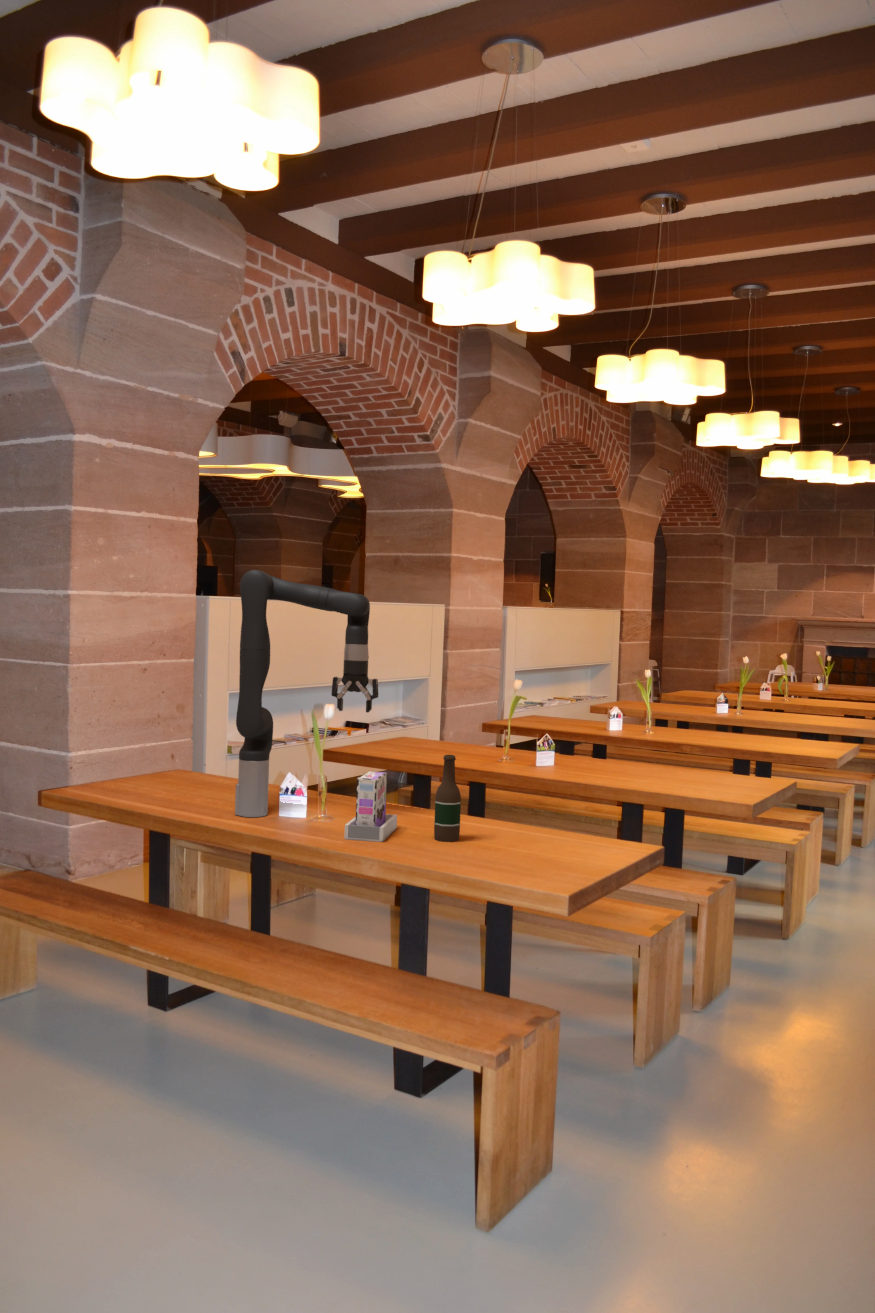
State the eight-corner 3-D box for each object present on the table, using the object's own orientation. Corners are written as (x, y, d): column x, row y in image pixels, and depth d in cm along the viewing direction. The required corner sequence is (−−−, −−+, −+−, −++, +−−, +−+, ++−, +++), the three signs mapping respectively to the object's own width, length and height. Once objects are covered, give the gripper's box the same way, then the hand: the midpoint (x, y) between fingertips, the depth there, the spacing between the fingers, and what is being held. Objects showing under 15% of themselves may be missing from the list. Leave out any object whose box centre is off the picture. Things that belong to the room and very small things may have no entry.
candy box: (374, 837, 279) (376, 779, 278) (354, 835, 280) (356, 777, 279) (385, 827, 292) (387, 771, 291) (366, 825, 293) (368, 770, 292)
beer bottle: (428, 837, 284) (431, 753, 283) (453, 835, 287) (456, 753, 286) (439, 843, 277) (442, 757, 276) (464, 841, 280) (467, 757, 279)
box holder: (344, 839, 277) (344, 825, 277) (360, 825, 296) (361, 812, 296) (382, 842, 275) (383, 827, 275) (396, 828, 294) (397, 814, 294)
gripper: (330, 658, 302) (328, 711, 302) (375, 660, 300) (374, 713, 300) (336, 657, 309) (335, 709, 310) (381, 659, 307) (379, 711, 308)
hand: (354, 711), depth 305 cm, fingers open, 8 cm apart
